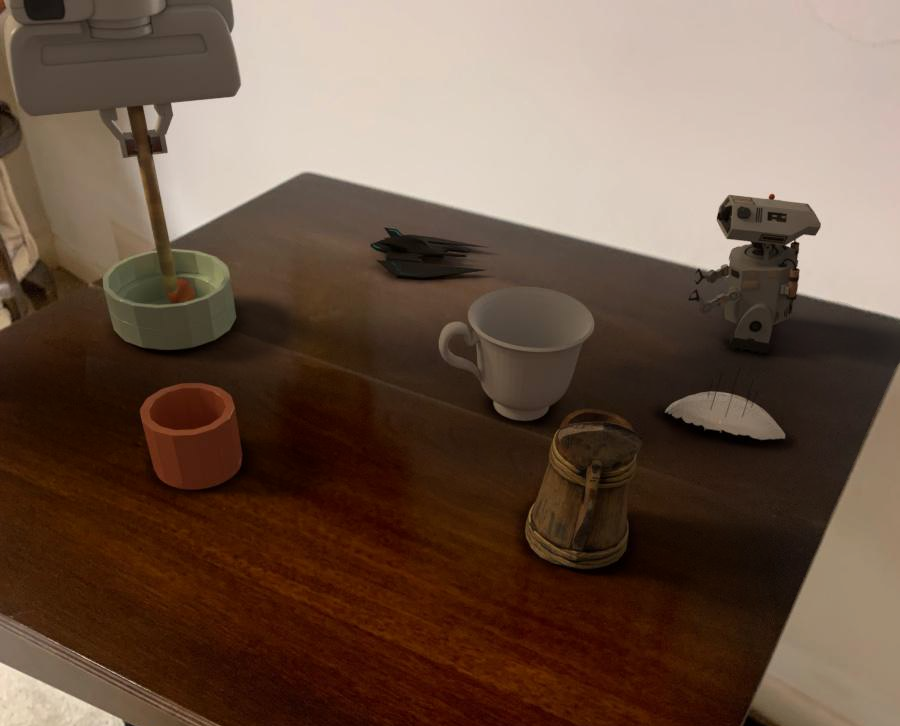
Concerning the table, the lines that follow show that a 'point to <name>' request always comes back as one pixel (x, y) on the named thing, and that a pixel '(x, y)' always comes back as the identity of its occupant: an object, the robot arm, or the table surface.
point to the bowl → (153, 314)
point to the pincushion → (726, 414)
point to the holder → (192, 435)
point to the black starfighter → (418, 255)
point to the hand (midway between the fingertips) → (144, 153)
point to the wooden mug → (585, 492)
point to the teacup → (522, 347)
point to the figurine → (759, 265)
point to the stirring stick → (153, 197)
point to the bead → (183, 292)
